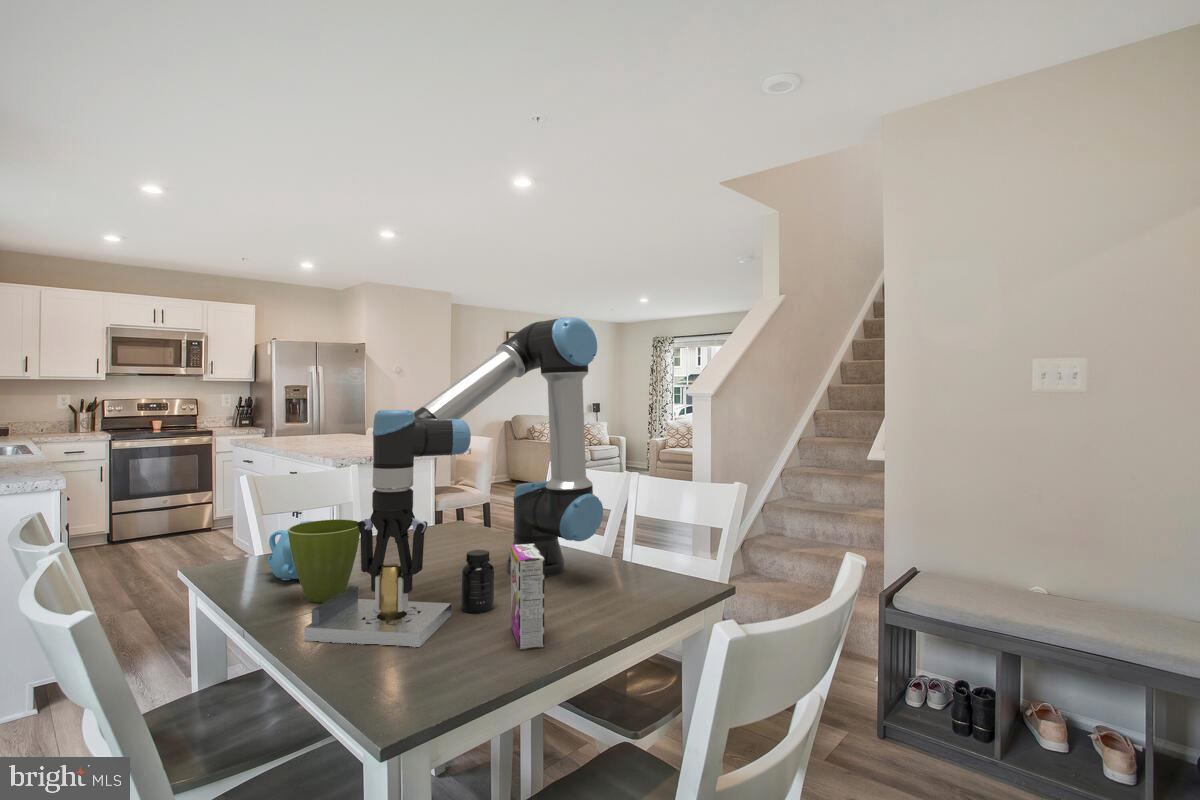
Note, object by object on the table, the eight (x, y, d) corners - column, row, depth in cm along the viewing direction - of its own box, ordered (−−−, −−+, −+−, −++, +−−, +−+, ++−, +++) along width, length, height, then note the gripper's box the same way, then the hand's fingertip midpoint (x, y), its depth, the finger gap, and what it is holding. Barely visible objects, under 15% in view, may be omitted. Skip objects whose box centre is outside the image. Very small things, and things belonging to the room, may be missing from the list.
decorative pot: (348, 578, 147) (349, 523, 147) (275, 589, 137) (276, 531, 138) (333, 563, 160) (334, 513, 160) (265, 572, 151) (266, 519, 151)
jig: (451, 615, 122) (451, 588, 122) (419, 647, 106) (419, 617, 106) (350, 610, 124) (350, 584, 124) (304, 641, 108) (304, 611, 108)
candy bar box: (508, 627, 116) (509, 544, 116) (534, 625, 117) (534, 542, 117) (517, 651, 105) (518, 559, 105) (545, 648, 106) (546, 557, 106)
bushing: (405, 623, 117) (406, 563, 117) (396, 631, 113) (397, 568, 113) (386, 622, 117) (387, 562, 117) (376, 630, 113) (377, 567, 113)
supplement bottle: (458, 605, 128) (459, 549, 128) (489, 601, 131) (490, 547, 131) (464, 615, 122) (465, 557, 122) (497, 611, 125) (497, 554, 125)
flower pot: (324, 612, 123) (325, 536, 123) (271, 603, 128) (271, 530, 128) (374, 591, 137) (375, 522, 137) (325, 583, 142) (325, 517, 142)
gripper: (442, 487, 118) (440, 604, 118) (361, 484, 120) (359, 600, 120) (427, 492, 110) (425, 618, 110) (341, 490, 112) (339, 613, 112)
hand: (391, 608), depth 115 cm, fingers closed on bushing, 4 cm apart
